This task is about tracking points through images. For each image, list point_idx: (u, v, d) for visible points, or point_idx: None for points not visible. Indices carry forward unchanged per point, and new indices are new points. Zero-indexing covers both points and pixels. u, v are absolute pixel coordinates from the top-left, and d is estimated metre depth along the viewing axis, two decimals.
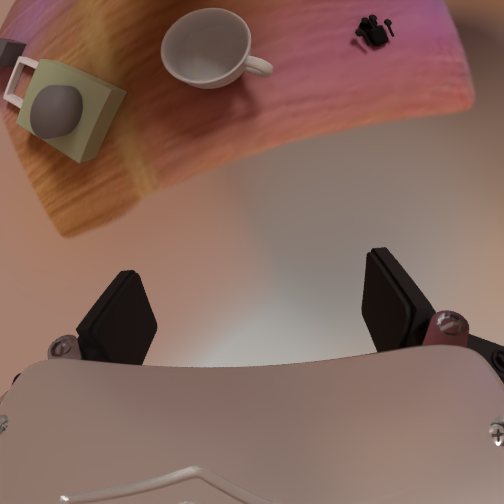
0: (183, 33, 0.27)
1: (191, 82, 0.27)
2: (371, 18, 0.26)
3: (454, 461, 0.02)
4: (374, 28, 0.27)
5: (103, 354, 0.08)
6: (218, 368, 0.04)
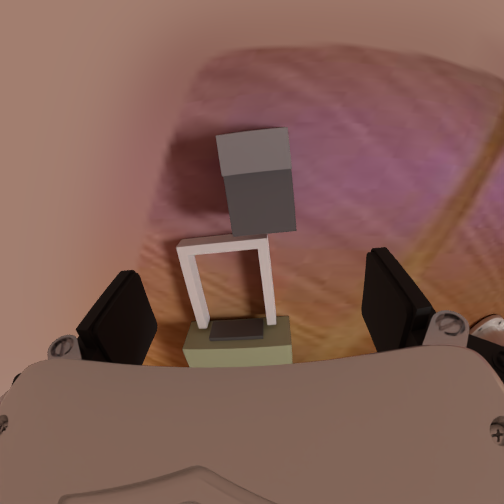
0: None
1: None
2: None
3: (454, 461, 0.02)
4: None
5: (103, 354, 0.08)
6: (218, 368, 0.04)
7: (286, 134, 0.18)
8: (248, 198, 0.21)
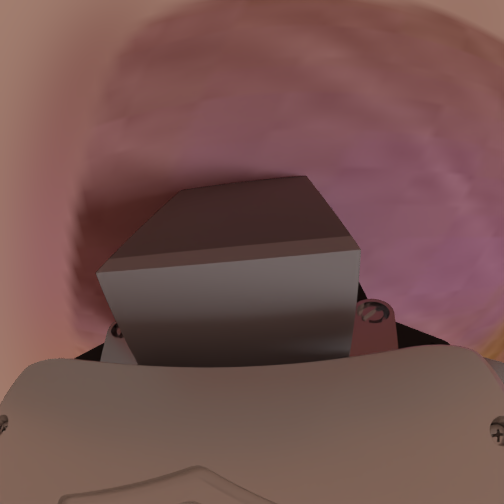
0: None
1: None
2: None
3: (454, 461, 0.02)
4: None
5: None
6: (218, 368, 0.04)
7: (352, 276, 0.05)
8: None
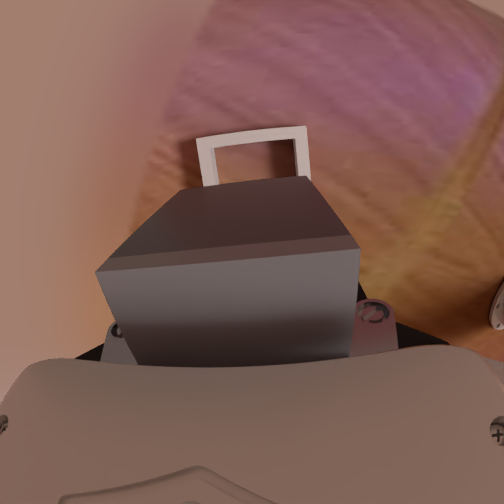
0: None
1: None
2: None
3: (454, 461, 0.02)
4: None
5: None
6: (218, 368, 0.04)
7: (352, 275, 0.05)
8: None
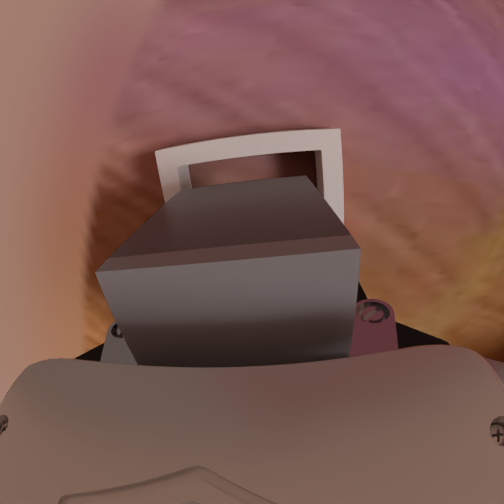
0: None
1: None
2: None
3: (454, 461, 0.02)
4: None
5: None
6: (218, 368, 0.04)
7: (352, 275, 0.05)
8: None
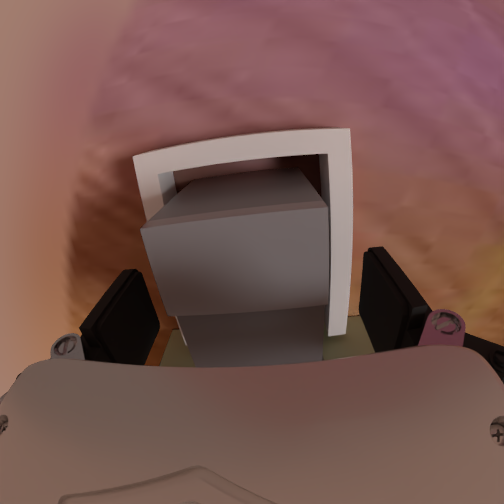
0: None
1: None
2: None
3: (454, 461, 0.02)
4: None
5: (106, 353, 0.08)
6: (218, 368, 0.04)
7: (324, 226, 0.07)
8: (230, 347, 0.10)
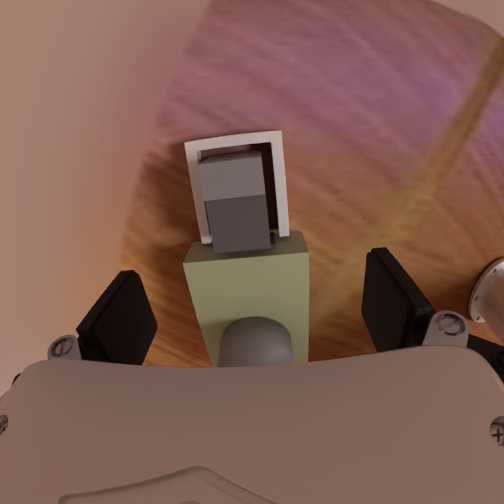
0: None
1: None
2: None
3: (454, 461, 0.02)
4: None
5: (103, 354, 0.08)
6: (218, 368, 0.04)
7: (260, 163, 0.21)
8: (227, 220, 0.24)
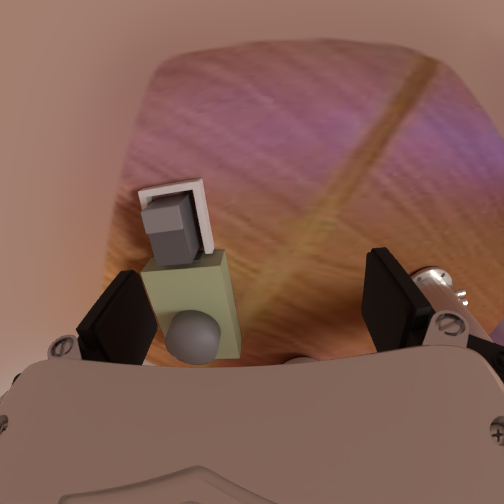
0: None
1: None
2: None
3: (454, 461, 0.02)
4: None
5: (103, 354, 0.08)
6: (218, 368, 0.04)
7: (177, 210, 0.32)
8: (162, 245, 0.35)
